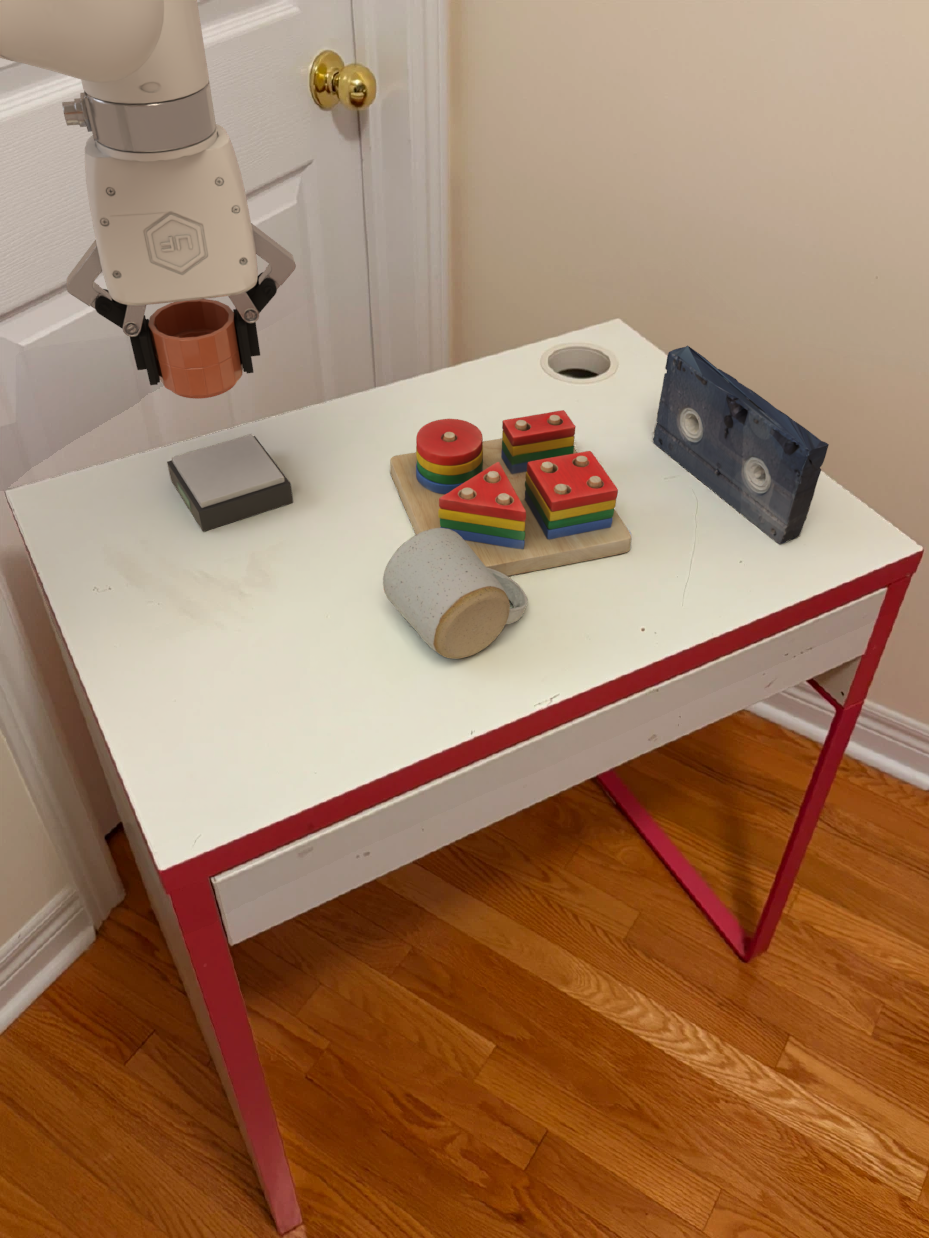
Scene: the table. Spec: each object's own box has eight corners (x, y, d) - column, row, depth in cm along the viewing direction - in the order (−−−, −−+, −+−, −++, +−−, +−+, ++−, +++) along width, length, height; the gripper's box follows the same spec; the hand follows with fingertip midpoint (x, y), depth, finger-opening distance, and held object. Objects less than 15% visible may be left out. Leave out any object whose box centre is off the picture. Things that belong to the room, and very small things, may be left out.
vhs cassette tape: (802, 538, 93) (831, 444, 86) (776, 548, 91) (803, 454, 85) (675, 433, 104) (691, 343, 97) (651, 441, 103) (665, 350, 96)
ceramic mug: (436, 680, 80) (437, 606, 74) (382, 617, 85) (379, 543, 79) (548, 628, 84) (556, 555, 79) (490, 571, 89) (494, 499, 84)
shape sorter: (631, 553, 91) (640, 497, 87) (439, 591, 87) (438, 534, 83) (560, 441, 103) (565, 387, 99) (388, 470, 99) (385, 416, 95)
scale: (202, 532, 92) (197, 507, 90) (170, 481, 98) (164, 456, 96) (293, 502, 95) (290, 477, 93) (257, 454, 101) (253, 430, 99)
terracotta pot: (147, 394, 77) (133, 333, 73) (184, 354, 81) (172, 293, 78) (222, 407, 76) (211, 345, 72) (256, 365, 80) (247, 305, 76)
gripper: (4, 150, 61) (80, 412, 74) (299, 126, 64) (324, 381, 77) (11, 106, 66) (81, 358, 79) (283, 86, 70) (309, 331, 82)
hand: (200, 367), depth 78 cm, fingers closed on terracotta pot, 6 cm apart
